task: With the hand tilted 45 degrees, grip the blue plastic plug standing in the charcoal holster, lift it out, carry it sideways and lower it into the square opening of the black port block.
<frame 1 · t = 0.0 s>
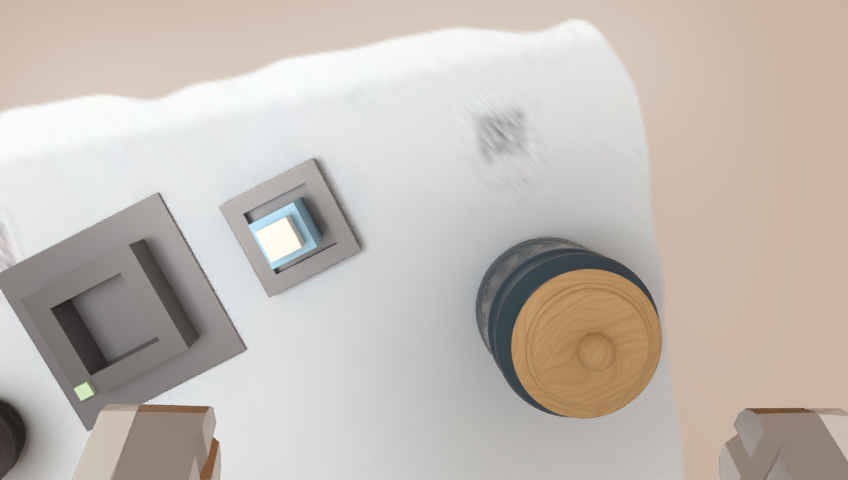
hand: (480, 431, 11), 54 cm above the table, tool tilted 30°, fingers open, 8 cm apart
holster: (292, 226, 65), on the table
port: (123, 313, 64), on the table
plug: (292, 227, 64), resting on holster
canister: (541, 304, 67), on the table
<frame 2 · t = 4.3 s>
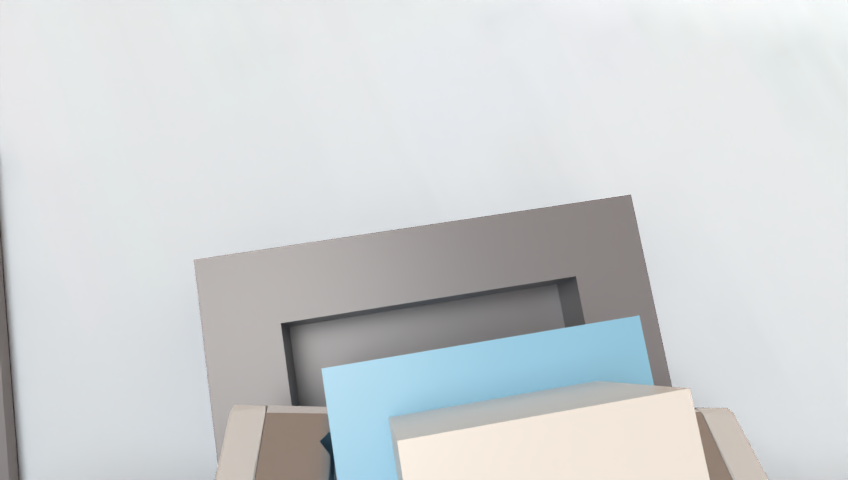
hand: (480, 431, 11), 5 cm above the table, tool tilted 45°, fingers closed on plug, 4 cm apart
holster: (445, 441, 16), on the table
plug: (448, 443, 15), point 1 cm above the table, touching gripper, holster
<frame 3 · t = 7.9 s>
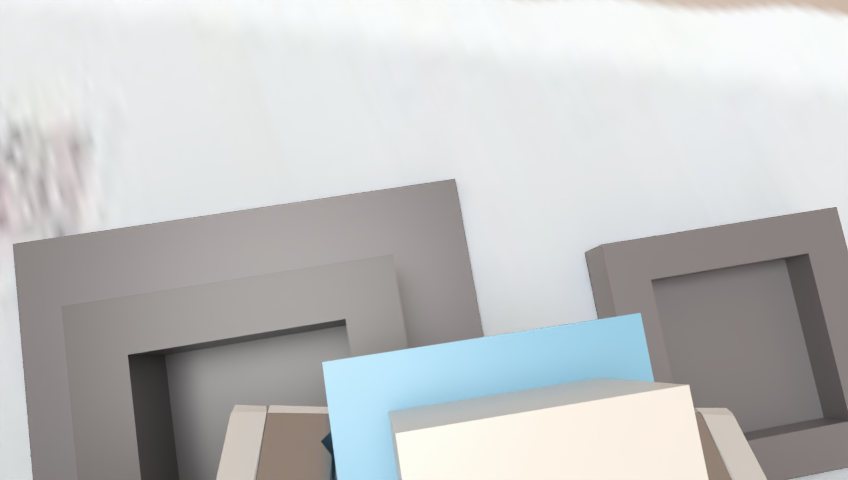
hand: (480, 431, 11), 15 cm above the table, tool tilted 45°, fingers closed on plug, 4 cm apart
holster: (722, 350, 27), on the table
port: (271, 431, 26), on the table
plug: (449, 440, 15), point 11 cm above the table, touching gripper
when the fingers open (7 cm above the table, at t = 11.4 s): plug drops 2 cm, resting on port.
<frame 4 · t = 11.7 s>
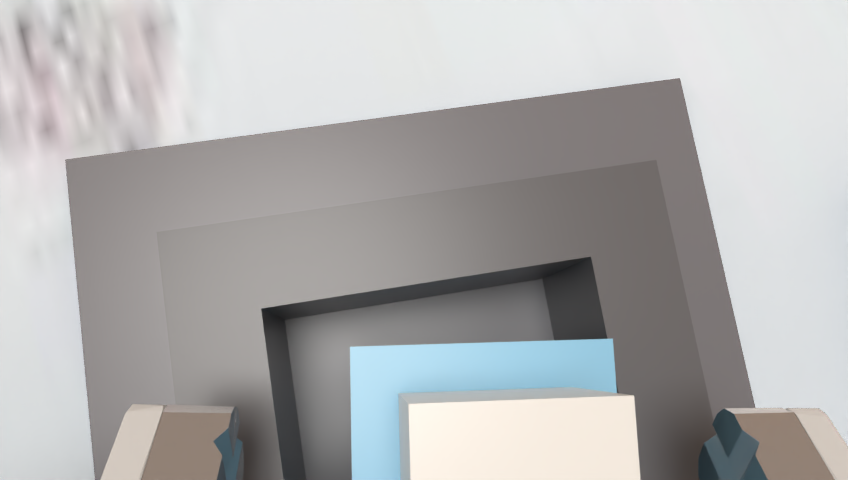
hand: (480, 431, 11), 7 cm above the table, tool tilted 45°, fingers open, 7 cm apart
port: (436, 430, 18), on the table
plug: (440, 432, 17), resting on port
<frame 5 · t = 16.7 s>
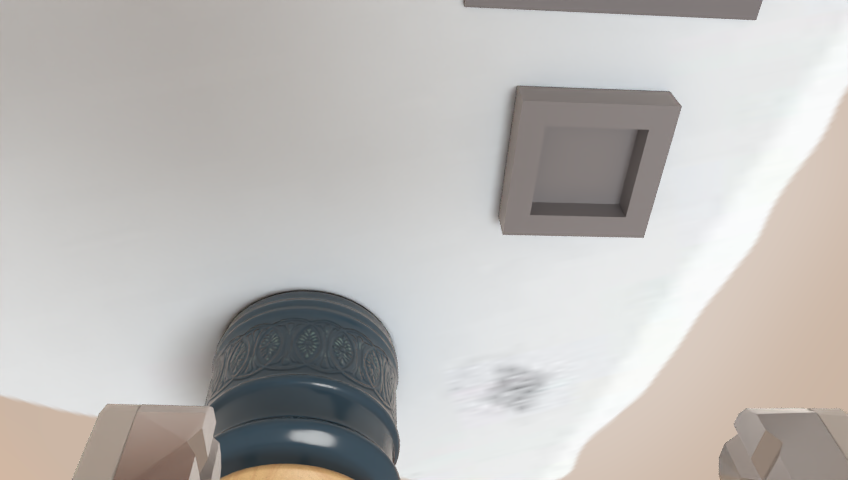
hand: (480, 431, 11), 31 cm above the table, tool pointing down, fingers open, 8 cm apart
holster: (579, 157, 44), on the table
canister: (309, 352, 53), on the table
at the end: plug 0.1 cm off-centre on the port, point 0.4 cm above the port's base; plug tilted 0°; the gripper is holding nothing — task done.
